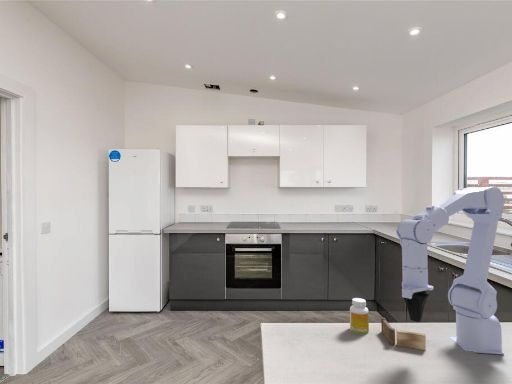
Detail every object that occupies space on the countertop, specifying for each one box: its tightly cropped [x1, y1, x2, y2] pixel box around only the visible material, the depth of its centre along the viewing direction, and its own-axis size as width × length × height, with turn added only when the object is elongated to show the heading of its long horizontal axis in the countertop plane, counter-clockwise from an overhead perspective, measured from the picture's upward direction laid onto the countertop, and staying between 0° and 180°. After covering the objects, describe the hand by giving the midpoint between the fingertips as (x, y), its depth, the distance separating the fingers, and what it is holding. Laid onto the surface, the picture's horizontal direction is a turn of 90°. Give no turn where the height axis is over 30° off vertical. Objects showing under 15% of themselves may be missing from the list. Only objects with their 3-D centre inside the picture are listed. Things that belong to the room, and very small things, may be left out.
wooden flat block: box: [396, 329, 427, 351], centre depth 77 cm, size 7×1×4 cm, turn 67°
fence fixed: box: [380, 317, 396, 346], centre depth 83 cm, size 2×9×5 cm, turn 172°
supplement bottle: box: [349, 297, 370, 335], centre depth 87 cm, size 5×5×10 cm
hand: (415, 320), depth 73 cm, fingers closed
